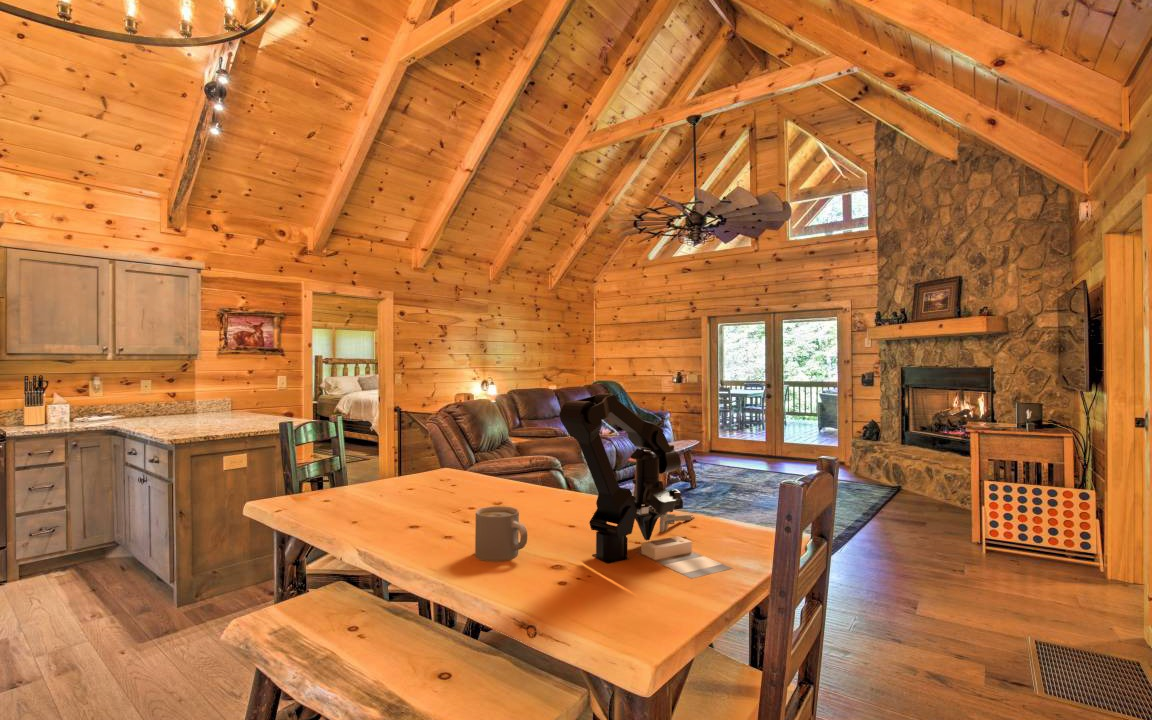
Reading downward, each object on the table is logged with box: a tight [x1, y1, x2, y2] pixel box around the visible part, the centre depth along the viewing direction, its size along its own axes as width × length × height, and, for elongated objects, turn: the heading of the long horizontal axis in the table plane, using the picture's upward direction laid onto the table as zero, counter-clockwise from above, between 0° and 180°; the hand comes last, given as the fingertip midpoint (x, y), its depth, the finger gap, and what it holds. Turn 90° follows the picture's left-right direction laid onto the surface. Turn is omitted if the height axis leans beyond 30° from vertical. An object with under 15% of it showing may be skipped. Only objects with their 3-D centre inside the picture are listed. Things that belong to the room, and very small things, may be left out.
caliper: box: [659, 512, 695, 533], centre depth 158 cm, size 20×1×6 cm, turn 145°
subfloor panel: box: [633, 549, 733, 579], centre depth 128 cm, size 12×20×1 cm, turn 31°
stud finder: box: [640, 535, 693, 560], centre depth 132 cm, size 11×5×3 cm, turn 121°
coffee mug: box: [474, 505, 528, 563], centre depth 131 cm, size 13×10×10 cm
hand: (646, 539), depth 139 cm, fingers closed
